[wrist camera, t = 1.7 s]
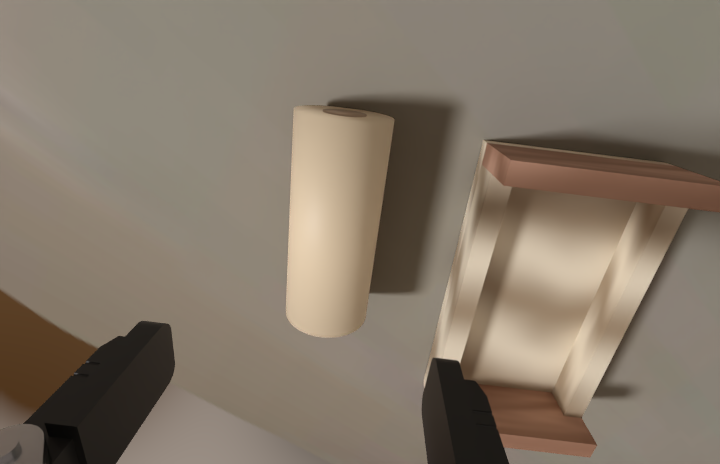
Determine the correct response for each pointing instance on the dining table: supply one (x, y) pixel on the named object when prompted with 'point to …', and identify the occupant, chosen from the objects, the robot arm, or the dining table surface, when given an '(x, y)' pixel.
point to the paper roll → (334, 215)
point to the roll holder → (555, 279)
